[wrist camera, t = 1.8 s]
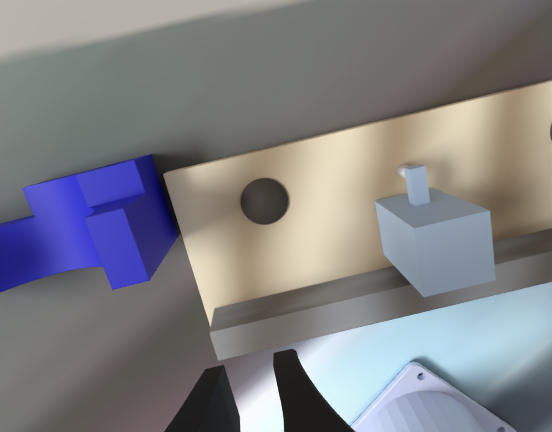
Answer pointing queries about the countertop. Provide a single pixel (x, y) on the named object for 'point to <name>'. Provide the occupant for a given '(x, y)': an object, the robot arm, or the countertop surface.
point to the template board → (360, 218)
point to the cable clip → (91, 226)
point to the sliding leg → (435, 236)
